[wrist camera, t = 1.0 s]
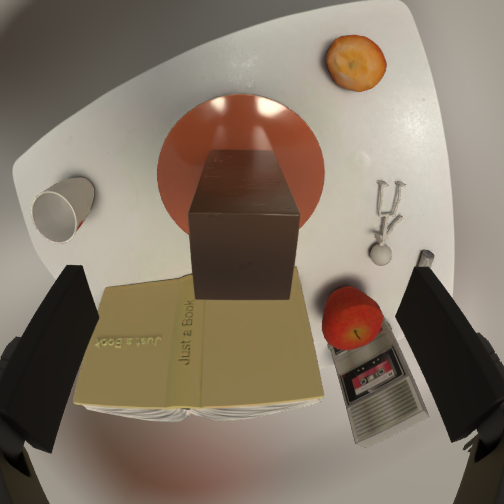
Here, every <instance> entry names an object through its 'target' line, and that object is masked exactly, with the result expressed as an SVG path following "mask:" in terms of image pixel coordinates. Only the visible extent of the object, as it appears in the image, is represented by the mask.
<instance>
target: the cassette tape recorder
mask: <svg viewBox="0 0 504 504" xmlns="http://www.w3.org/2000/svg"><path fill="white" fill-rule="evenodd" d="M391 329H392V328H391V326H390V325H389V323H388V322H387V320H386V319H385V318H384V316H383V322H382V326H381V328H380V331H379V333H378V334H377V336H376V337H375V339H374V340H373V341H371V342H370V343H368V344H367V345H364V346H362V347H359V348H356V349H352V350H340V349H337V348H335V347H333V346H331V345H329V344H328V349H329V350H331V353H332V357H333V361H334V364H335V368H336V371H337V375H338V379H339V382H340V386H341V390H342V394H343V397H344V401H345V405H346V409H347V412H348V417H349V421H350V424H351V429H352V433H353V437H354V441H355V444H357V445H359V446H362V447H364V448H367V447H370V446H372V445H374V444H377V443H379V442H381V441H383V440H385V439H387V438H390V437H392V436H394V435H396V434H398V433H400V432H402V431H404V430H406V429H408V428H410V427H412V426H414V425H415V424H417V423H419V422H421V421H423V420H425V419H426V418H428V417H429V414H428V412H427V409H426V407H425V404H424V402H423V399H422V397H421V395H420V392H419V390H418V387H417V385H416V383H415V380H414V378H413V376H412V374H411V371H410V369H409V367H408V365H407V362H406V360H405V358H404V356H403V354H402V351H401V349H400V347H399V345H398V343H397V341H396V339H395V336H394V334H393V332H392V330H391Z"/></svg>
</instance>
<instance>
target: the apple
mask: <svg viewBox="0 0 504 504" xmlns="http://www.w3.org/2000/svg"><path fill="white" fill-rule="evenodd" d="M382 322H383V315H382V311H381V309H380V307H379V305H378V304H377V303H376V302H375V301H374V300H373V299H372V298H370V297H369V296H367V295H366V294H365V293H363V292H362V291H360V290H358V289H356V288H354V287H350V286H346V287H342V288H339V289H337V290H335V291H334V292H333V293H332V294H330V296H329V297H328V299H327V302H326V305H325V309H324V313H323V320H322V332H323V335H324V338H325V339H326V341H327V342H328V344H329V345H331V346H333V347H335V348H337V349H340V350H352V349H356V348H359V347H362V346H364V345H367V344H368V343H370V342H371V341H373V340H374V339H375V337H376V336H377V334H378V333H379V331H380V328H381V326H382Z"/></svg>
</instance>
